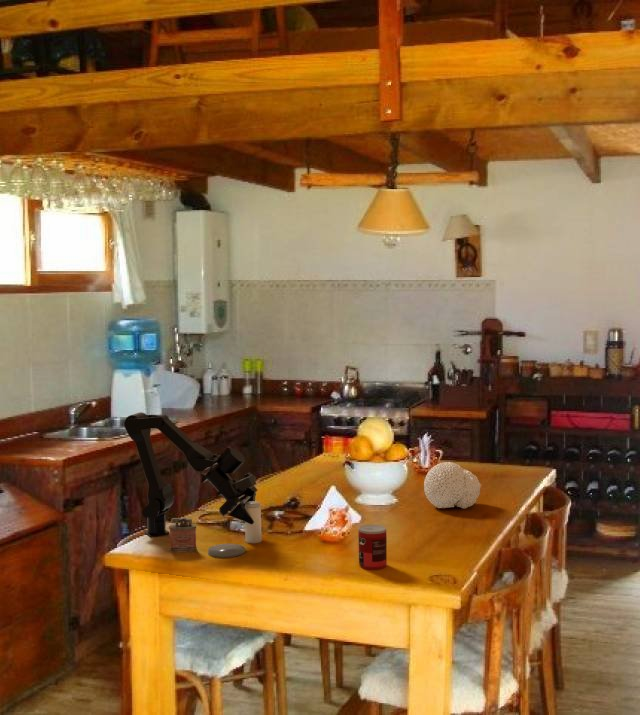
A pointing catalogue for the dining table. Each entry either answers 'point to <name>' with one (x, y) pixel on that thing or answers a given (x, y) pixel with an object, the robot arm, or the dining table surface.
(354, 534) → the dining table surface
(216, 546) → the disc
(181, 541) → the lighter
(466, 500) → the beige brain coral
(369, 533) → the canned food
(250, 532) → the salt shaker
